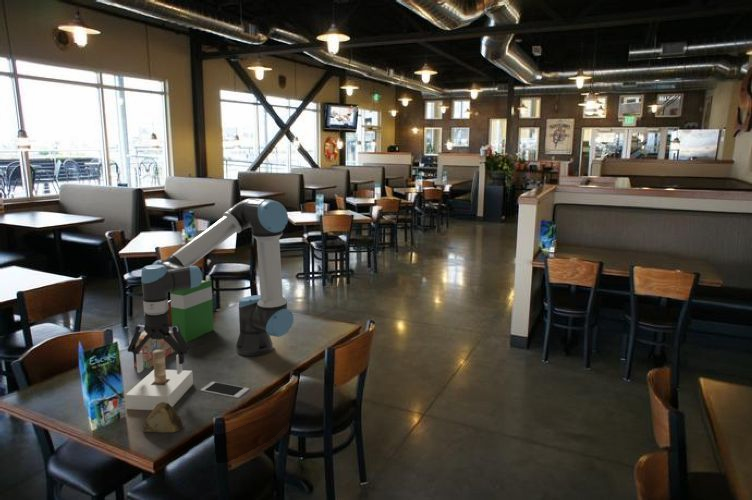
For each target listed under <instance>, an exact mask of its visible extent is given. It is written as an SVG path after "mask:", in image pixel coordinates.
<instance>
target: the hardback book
mask: <svg viewBox="0 0 752 500" xmlns="http://www.w3.org/2000/svg"><path fill="white" fill-rule="evenodd" d="M212 283H213V282H212V279H208V280H202V282H201V284H200V285H199V286H198V287H194V288H191V289H190V288H189V289H184V290H178V291H173V292H169V294H170V295H169V297H170V308H171V309H170V310H171V312H170V313H171V327H172V326H176V325H178V326H179V330H180V333H181V335H182V336H183V338H184V340H185V342H186V343H187V342H191V341H192V340H195V339H197V338H198V337H201V336H203V335H206V334H208V333H210V332H212V331H214V313H213V312H214V309H213V288H212V286H213V285H212ZM205 333H206V334H205Z"/></svg>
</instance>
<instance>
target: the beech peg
mask: <svg viewBox="0 0 752 500" xmlns="http://www.w3.org/2000/svg"><path fill="white" fill-rule="evenodd" d="M153 362H154V365H153V370H154V378H155V381H154V383H155V385H165V384H166V370H167V369H166V357H165V352H164V350H155V351H153Z"/></svg>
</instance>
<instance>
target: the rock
mask: <svg viewBox="0 0 752 500" xmlns="http://www.w3.org/2000/svg"><path fill="white" fill-rule="evenodd" d="M184 427H185V424H184V421H183V420H182V418H181V416H180V415H179V414H178V413H177V411H176V410H175V408H174V407H172V406H170V405H169V403H165V402H161V403H159V404H157V405H156V407H155V408H154V409H153V410H151V412H150V413H149V414H148V416H147V418H146V420H145V423H144V425H143V429H142V431H143V432H148V433H149V432H150V433H176V432H178V431H180V430H182V429H183V428H184Z"/></svg>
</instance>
